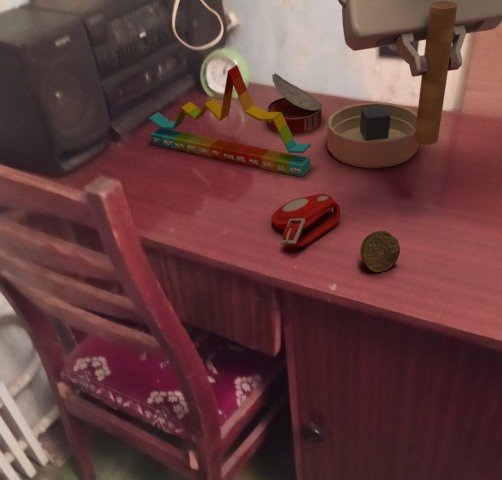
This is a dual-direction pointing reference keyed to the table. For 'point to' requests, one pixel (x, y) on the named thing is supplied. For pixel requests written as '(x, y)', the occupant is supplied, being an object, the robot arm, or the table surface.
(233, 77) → the chart
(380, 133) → the block
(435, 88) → the stick
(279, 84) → the canned food
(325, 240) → the table surface
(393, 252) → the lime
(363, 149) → the bowl
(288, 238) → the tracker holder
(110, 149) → the table surface
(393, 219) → the table surface
